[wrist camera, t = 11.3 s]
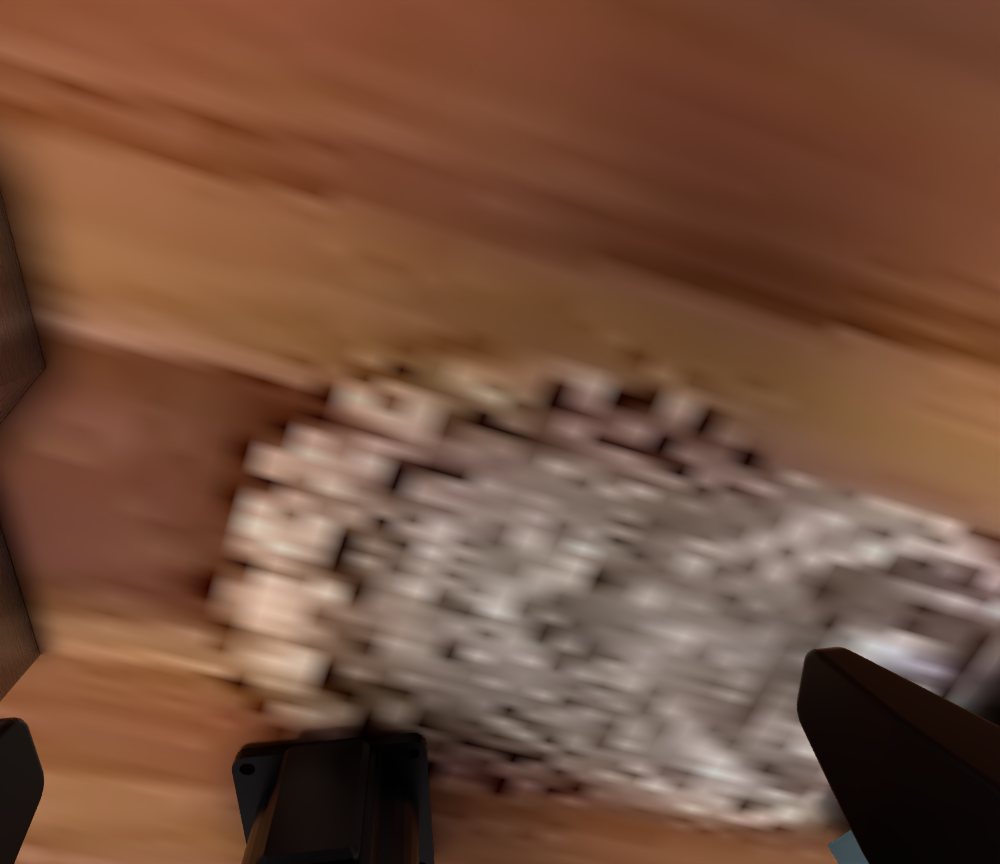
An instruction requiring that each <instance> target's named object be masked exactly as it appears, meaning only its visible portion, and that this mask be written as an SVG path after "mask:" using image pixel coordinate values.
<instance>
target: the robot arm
mask: <svg viewBox="0 0 1000 864" xmlns="http://www.w3.org/2000/svg"><path fill="white" fill-rule="evenodd" d="M797 712H798V717H799V720H800V723H801V725H802V728H803V730H804V732H805V734H806V736H807V738H808V740H809V742H810V745H811V747H812V749H813V751H814V753H815V755H816V757H817V759H818V762H819V764H820V766H821V768H822V770H823V772H824V774H825V776H826V778H827V781H828V783H829V785H830V787H831V789H832V791H833V793H834V795H835V797H836V800H837V802H838V804H839V806H840V808H841V810H842V812H843V814H844V816H845V819H846V821H847V823H848V825H849V827H850V829H851V831H852V833H853V835H854V837H855V839H856V841H857V843H858V845H859V847H860V849H861V851H862V853H863V854H864V856H865V858H866V860H867V861H868V863H869V864H1000V727H999V726H997V725H995V724H993V723H991V722H989V721H987V720H985V719H983V718H981V717H979V716H978V715H976V714H974V713H972V712H970V711H968V710H966V709H964V708H962V707H960V706H958V705H956V704H954V703H952V702H950V701H948V700H946V699H944V698H942V697H940V696H938V695H936V694H934V693H932V692H930V691H928V690H926V689H925V688H923V687H921V686H919V685H917V684H915V683H913V682H911V681H909V680H907V679H905V678H903V677H901V676H899V675H897V674H895V673H893V672H891V671H889V670H887V669H885V668H883V667H881V666H879V665H877V664H875V663H874V662H872V661H870V660H868V659H866V658H864V657H862V656H860V655H858V654H856V653H854V652H852V651H850V650H848V649H846V648H842V647H831V648H819V649H813V650H811V651H809V652H808V653H807V655H806V656H805V660H804V665H803V670H802V676H801V681H800V687H799V693H798V698H797ZM411 747H412V748H416V749H414V750H409V749H408V748H411ZM246 763H248V764H252V765H246ZM232 774H233V779H234V784H235V789H236V794H237V799H238V804H239V809H240V814H241V819H242V824H243V829H244V834H245V839H246V844H247V846H246V849H245V853H244V857H243V860H242V864H434V850H433V834H432V819H431V803H430V788H429V773H428V757H427V743H426V740H425V738H424V737H423V736H422V735H420V734H417V733H406V734H395V735H385V736H374V737H363V738H353V739H342V740H332V741H321V742H310V743H300V744H289V745H278V746H268V747H257V748H248V749H244V750H241V751H240V752H238V754H237V755H236V757H235V760H234V763H233V766H232ZM43 787H44V774H43V770H42V767H41V764H40V760H39V757H38V754H37V751H36V748H35V745H34V742H33V739H32V736H31V733H30V730H29V727H28V725H27V723H25V722H24V721H23V720H22V719H19V718H2V719H0V864H14V863H15V860H16V858H17V855H18V853H19V850H20V848H21V846H22V843H23V841H24V838H25V836H26V833H27V831H28V829H29V826H30V824H31V821H32V819H33V816H34V814H35V811H36V809H37V807H38V804H39V802H40V799H41V796H42V792H43Z"/></svg>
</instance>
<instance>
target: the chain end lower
mask: <svg viewBox="0 0 1000 864" xmlns="http://www.w3.org/2000/svg"><path fill="white" fill-rule="evenodd" d="M44 368H45V365H44V361H43V357H42V353H41V349H40V345H39V341H38V337H37V333H36V329H35V326H34V322H33V318H32V314H31V310H30V306H29V302H28V298H27V294H26V290H25V286H24V283H23V279H22V275H21V271H20V267H19V263H18V259H17V255H16V251H15V247H14V244H13V240H12V236H11V232H10V228H9V224H8V220H7V216H6V212H5V208H4V204H3V201H2V197H1V193H0V423H1V422H2V421H3V420H4V418H5V417H6V416H7V415H8V413H9V412H10V411H11V410H12V408H13V407H14V406H15V405H16V403H17V402H18V401H19V400H20V398H21V397H22V396H23V395H24V393H25V392H26V391H27V390H28V388H29V387H30V386H31V385H32V383H33V382H34V381H35V380H36V378H37V377H38V376H39V375H40V373H41V372H42V371H43V370H44ZM38 657H39V651H38V648H37V645H36V642H35V638H34V635H33V632H32V629H31V625H30V622H29V619H28V615H27V612H26V609H25V606H24V602H23V599H22V596H21V593H20V589H19V586H18V583H17V580H16V576H15V573H14V570H13V567H12V563H11V560H10V557H9V553H8V550H7V547H6V544H5V540H4V537H3V534H2V531H1V527H0V701H1V700H2V699H3V698H4V696H5V695H6V694H7V693H8V692H9V691H10V689H11V688H12V687H13V686H14V685H15V684H16V682H17V681H18V680H19V679H20V678H21V677H22V675H23V674H24V673H25V672H26V671H27V670H28V668H29V667H30V666H31V665H32V664H33V662H34V661H35V660H36V659H37V658H38Z"/></svg>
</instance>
